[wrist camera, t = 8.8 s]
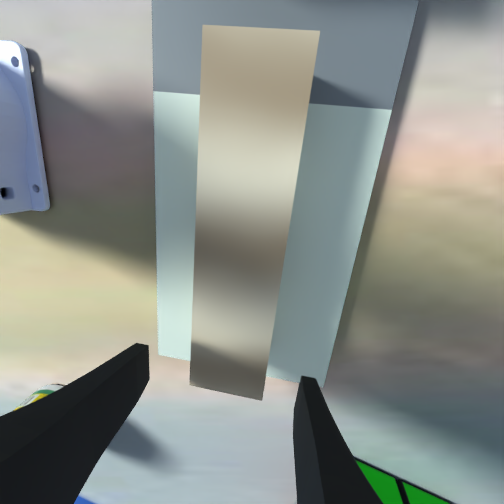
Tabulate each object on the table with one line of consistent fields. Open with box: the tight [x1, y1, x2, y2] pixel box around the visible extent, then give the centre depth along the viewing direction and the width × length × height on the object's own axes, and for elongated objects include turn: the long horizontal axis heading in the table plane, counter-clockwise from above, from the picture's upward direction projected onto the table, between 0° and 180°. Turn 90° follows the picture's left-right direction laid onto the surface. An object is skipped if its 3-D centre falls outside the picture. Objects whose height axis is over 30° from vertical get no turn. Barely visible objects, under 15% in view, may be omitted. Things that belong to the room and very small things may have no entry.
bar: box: [190, 25, 320, 401], centre depth 13 cm, size 16×4×4 cm, turn 174°
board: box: [152, 0, 419, 388], centre depth 13 cm, size 34×12×1 cm, turn 174°
